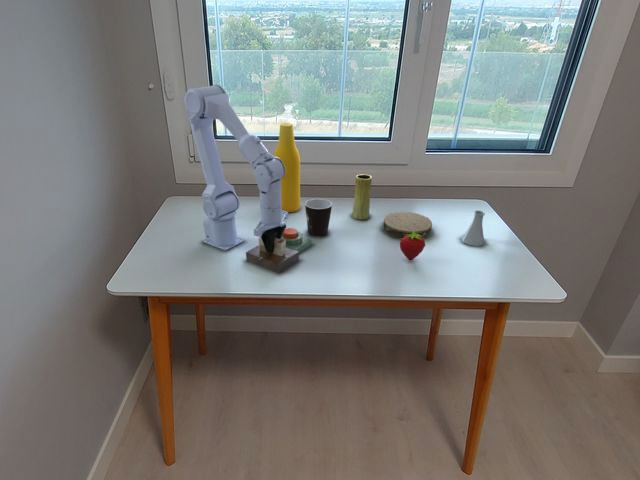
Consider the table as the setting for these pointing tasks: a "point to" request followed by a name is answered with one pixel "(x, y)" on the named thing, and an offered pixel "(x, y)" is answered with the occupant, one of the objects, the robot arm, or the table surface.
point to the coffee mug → (318, 216)
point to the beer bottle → (289, 168)
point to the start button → (290, 233)
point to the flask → (475, 230)
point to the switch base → (272, 259)
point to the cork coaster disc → (407, 224)
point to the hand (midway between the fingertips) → (272, 249)
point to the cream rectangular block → (275, 246)
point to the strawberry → (412, 245)
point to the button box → (297, 242)
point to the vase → (362, 197)
